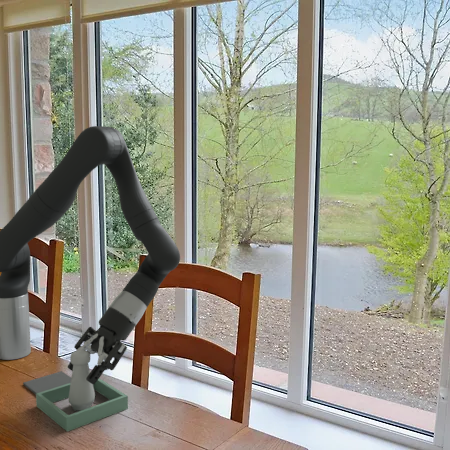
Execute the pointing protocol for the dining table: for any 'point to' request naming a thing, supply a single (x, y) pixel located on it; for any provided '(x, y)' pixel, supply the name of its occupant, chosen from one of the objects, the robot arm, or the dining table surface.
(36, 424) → the dining table surface
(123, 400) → the square frame
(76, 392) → the salt shaker
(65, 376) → the rubber mat
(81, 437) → the dining table surface
